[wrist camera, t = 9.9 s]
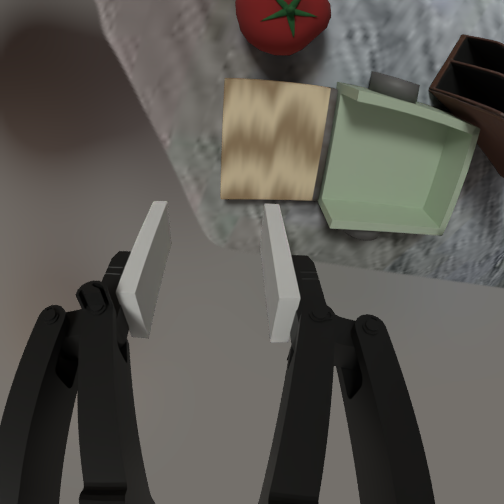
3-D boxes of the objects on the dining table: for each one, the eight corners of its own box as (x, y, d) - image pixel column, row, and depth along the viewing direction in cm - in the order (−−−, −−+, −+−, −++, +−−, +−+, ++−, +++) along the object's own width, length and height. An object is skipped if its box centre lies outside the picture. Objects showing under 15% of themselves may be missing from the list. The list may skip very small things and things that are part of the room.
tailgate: (335, 88, 25) (224, 77, 24) (340, 90, 25) (225, 79, 23) (316, 196, 33) (220, 194, 32) (320, 201, 32) (220, 199, 31)
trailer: (339, 64, 24) (362, 68, 19) (452, 98, 25) (484, 112, 21) (313, 214, 35) (325, 244, 31) (415, 222, 36) (436, 248, 32)
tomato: (331, 8, 20) (357, -2, 15) (291, 68, 25) (307, 73, 19) (258, -30, 18) (264, -52, 12) (217, 32, 22) (211, 26, 16)
